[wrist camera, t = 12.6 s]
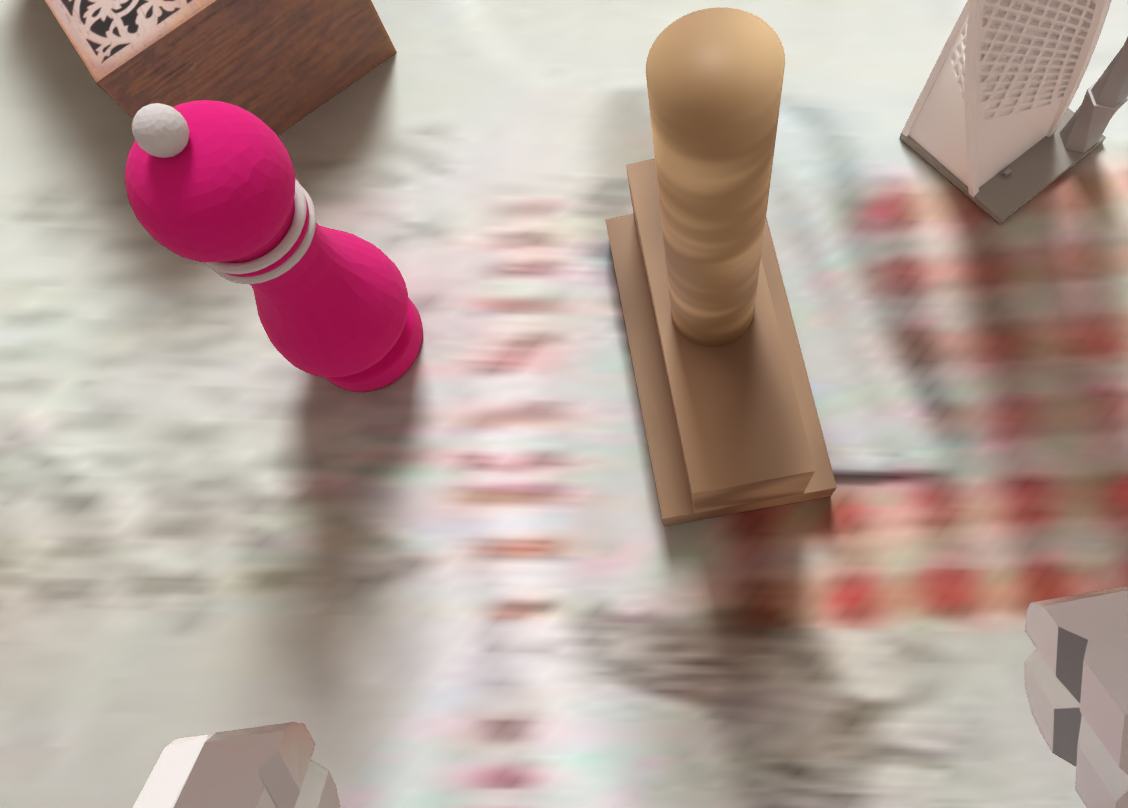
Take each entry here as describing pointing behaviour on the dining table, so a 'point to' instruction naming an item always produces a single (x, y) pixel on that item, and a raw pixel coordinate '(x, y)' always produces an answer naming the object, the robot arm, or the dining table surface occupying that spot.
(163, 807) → the robot arm
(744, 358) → the stepped base
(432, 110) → the dining table surface
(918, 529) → the dining table surface
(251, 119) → the pepper mill
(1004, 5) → the skyscraper
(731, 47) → the dowel
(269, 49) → the tissue box cover
